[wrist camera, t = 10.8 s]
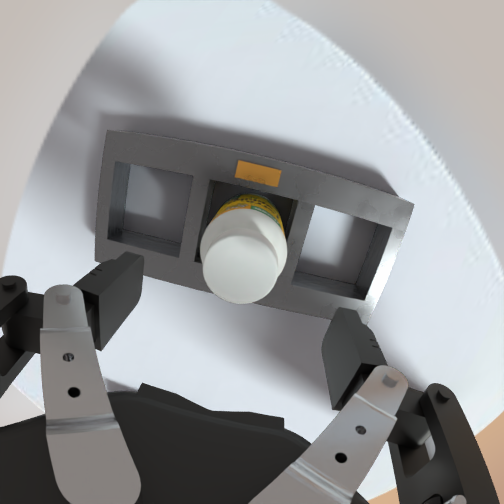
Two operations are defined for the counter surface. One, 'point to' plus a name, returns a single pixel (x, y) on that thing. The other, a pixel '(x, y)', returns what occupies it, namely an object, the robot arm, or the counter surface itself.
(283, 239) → the supplement bottle
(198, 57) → the counter surface
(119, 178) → the three-compartment grey tray
